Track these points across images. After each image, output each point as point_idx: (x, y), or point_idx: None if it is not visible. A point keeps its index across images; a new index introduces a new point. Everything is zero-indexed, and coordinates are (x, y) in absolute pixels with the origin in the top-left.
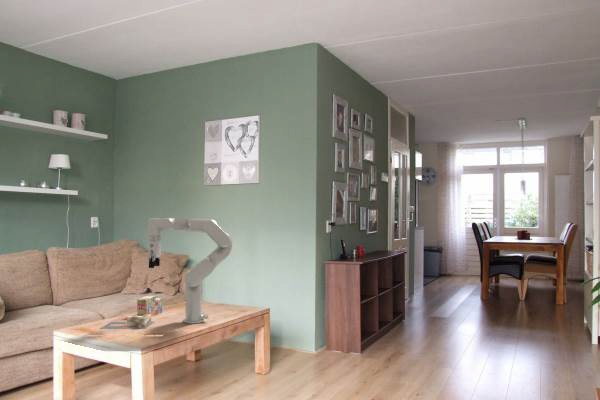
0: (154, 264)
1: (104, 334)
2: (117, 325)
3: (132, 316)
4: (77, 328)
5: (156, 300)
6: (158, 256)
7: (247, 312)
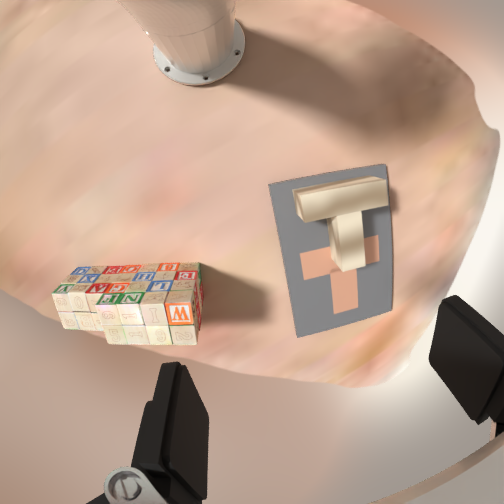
0: (208, 433)
1: (425, 266)
2: (348, 288)
3: (352, 252)
4: (362, 370)
5: (95, 293)
6: (476, 478)
7: None
